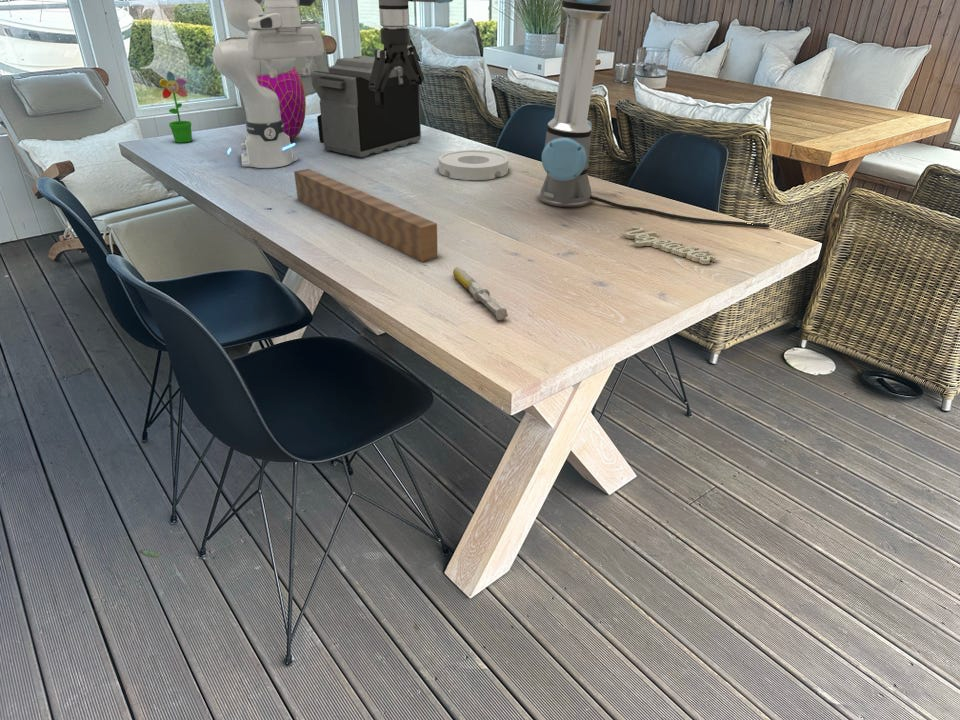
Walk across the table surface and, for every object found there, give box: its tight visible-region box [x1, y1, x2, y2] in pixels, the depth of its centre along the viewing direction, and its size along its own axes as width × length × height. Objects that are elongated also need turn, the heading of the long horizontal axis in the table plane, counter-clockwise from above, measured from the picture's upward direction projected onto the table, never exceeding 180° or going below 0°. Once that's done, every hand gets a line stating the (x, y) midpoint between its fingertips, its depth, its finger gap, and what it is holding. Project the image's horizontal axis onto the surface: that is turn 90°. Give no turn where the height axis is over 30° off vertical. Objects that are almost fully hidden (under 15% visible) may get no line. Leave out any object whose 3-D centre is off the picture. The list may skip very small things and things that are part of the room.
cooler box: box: [310, 55, 422, 159], centre depth 250 cm, size 37×22×30 cm, turn 144°
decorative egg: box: [257, 66, 307, 141], centre depth 257 cm, size 19×19×30 cm
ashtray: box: [438, 149, 509, 181], centre depth 229 cm, size 23×23×4 cm
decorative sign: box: [624, 226, 717, 265], centre depth 170 cm, size 26×1×10 cm
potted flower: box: [158, 70, 193, 144], centre depth 255 cm, size 9×8×25 cm
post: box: [293, 168, 439, 263], centre depth 180 cm, size 61×5×8 cm, turn 41°
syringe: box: [452, 266, 509, 321], centre depth 145 cm, size 25×4×3 cm, turn 21°
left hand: (290, 76), depth 188 cm, fingers open, 8 cm apart
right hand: (398, 113), depth 187 cm, fingers open, 13 cm apart
